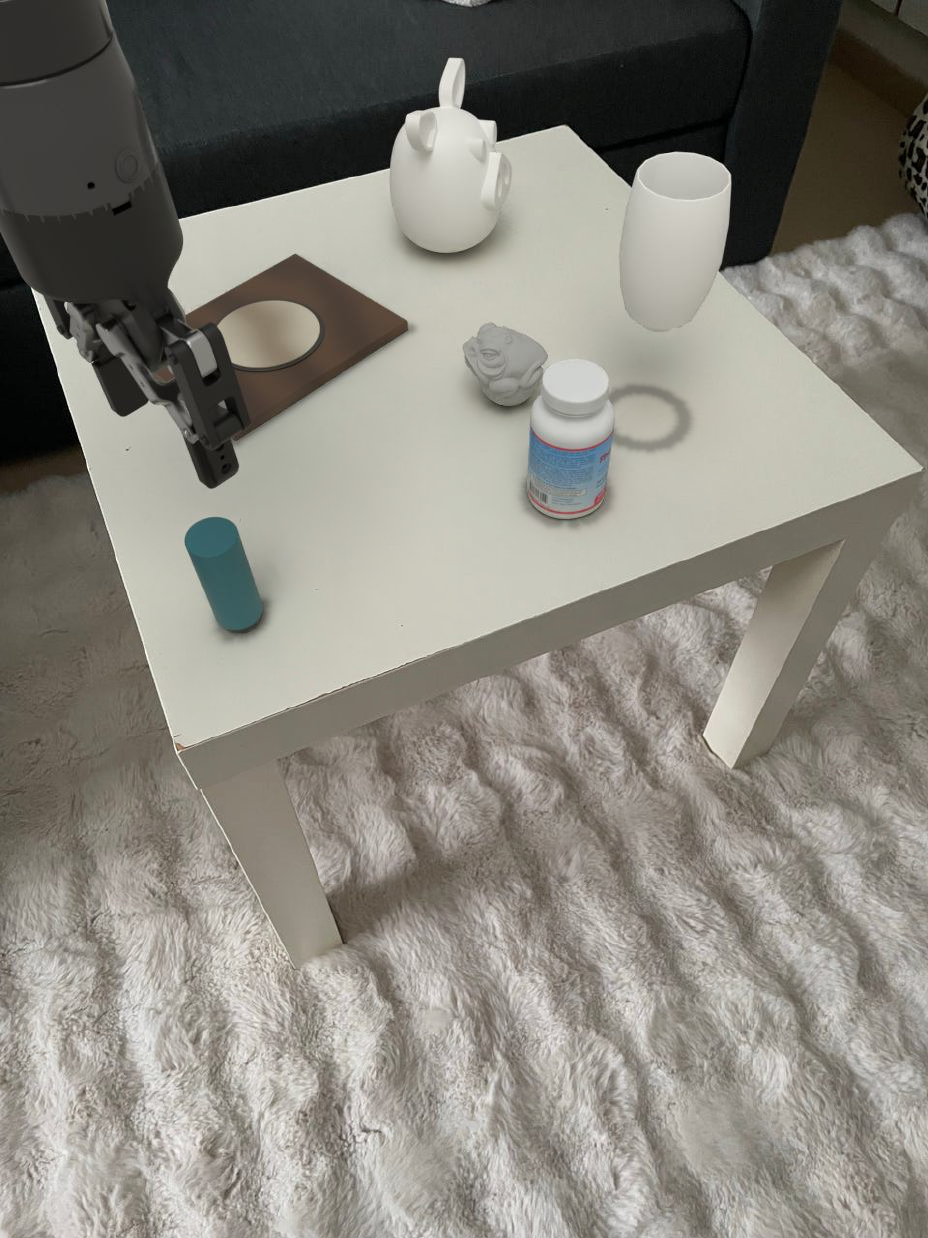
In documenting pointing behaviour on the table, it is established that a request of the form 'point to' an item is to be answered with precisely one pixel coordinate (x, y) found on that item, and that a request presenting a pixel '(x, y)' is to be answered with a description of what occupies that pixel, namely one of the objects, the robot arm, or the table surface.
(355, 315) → the wooden board with hole
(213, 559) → the teal cylinder
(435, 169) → the piggy bank
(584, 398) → the pill bottle
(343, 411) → the table surface
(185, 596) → the table surface
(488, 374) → the grey sculpted head figurine
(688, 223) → the cup
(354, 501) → the table surface
